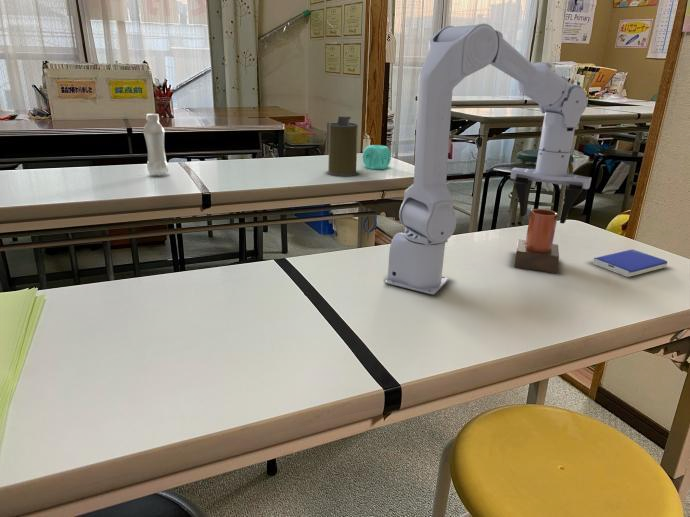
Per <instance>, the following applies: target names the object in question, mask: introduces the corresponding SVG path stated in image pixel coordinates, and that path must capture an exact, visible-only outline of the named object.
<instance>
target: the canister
mask: <svg viewBox="0 0 690 517" xmlns="http://www.w3.org/2000/svg"><path fill="white" fill-rule="evenodd" d="M350 119H352V116H349V115H340V116H338V118H337V122H336V121H335V122H333V121H329V122H327V124H326V129H327V130H326V155H328V166H327V167H328V169H327V174H328V175H330V176H334V177H353V176H355V175H357V162H358V161H357V156H358V131H359V124H358V123H355V122H350Z"/></svg>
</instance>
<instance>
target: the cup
mask: <svg viewBox="0 0 690 517" xmlns="http://www.w3.org/2000/svg"><path fill="white" fill-rule="evenodd" d="M558 218H559V213H558V212H557V211H554V210H550V209H544V208H533V209H531V210H530V213H529V218H528V226H527V232H526V236H525V240H526V242H525V247H526V248H528V249H530V250H533V251H538V252H548V251H551V249H552V244H554V239H555V233H556V227H557V223H558Z"/></svg>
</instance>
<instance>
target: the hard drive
mask: <svg viewBox="0 0 690 517" xmlns="http://www.w3.org/2000/svg"><path fill="white" fill-rule="evenodd" d="M592 263H593V265H595V266H597V267H600V268H603V269H605V270H608V271H611V272H614V273H616V274H619V275H621V276H624V277H626V278H630V277H634V276H637V275H642V274H645V273H650V272H653V271H657V270H660V269H664V268H667V266H668V261H667V260H665V259H663V258H660V257H657V256H654V255H650V254H648V253H645V252H642V251H639V250H636V249H634V248H633V249H627V250H623V251H618V252H614V253H609V254H605V255H601V256H597V257H593V260H592Z"/></svg>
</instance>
